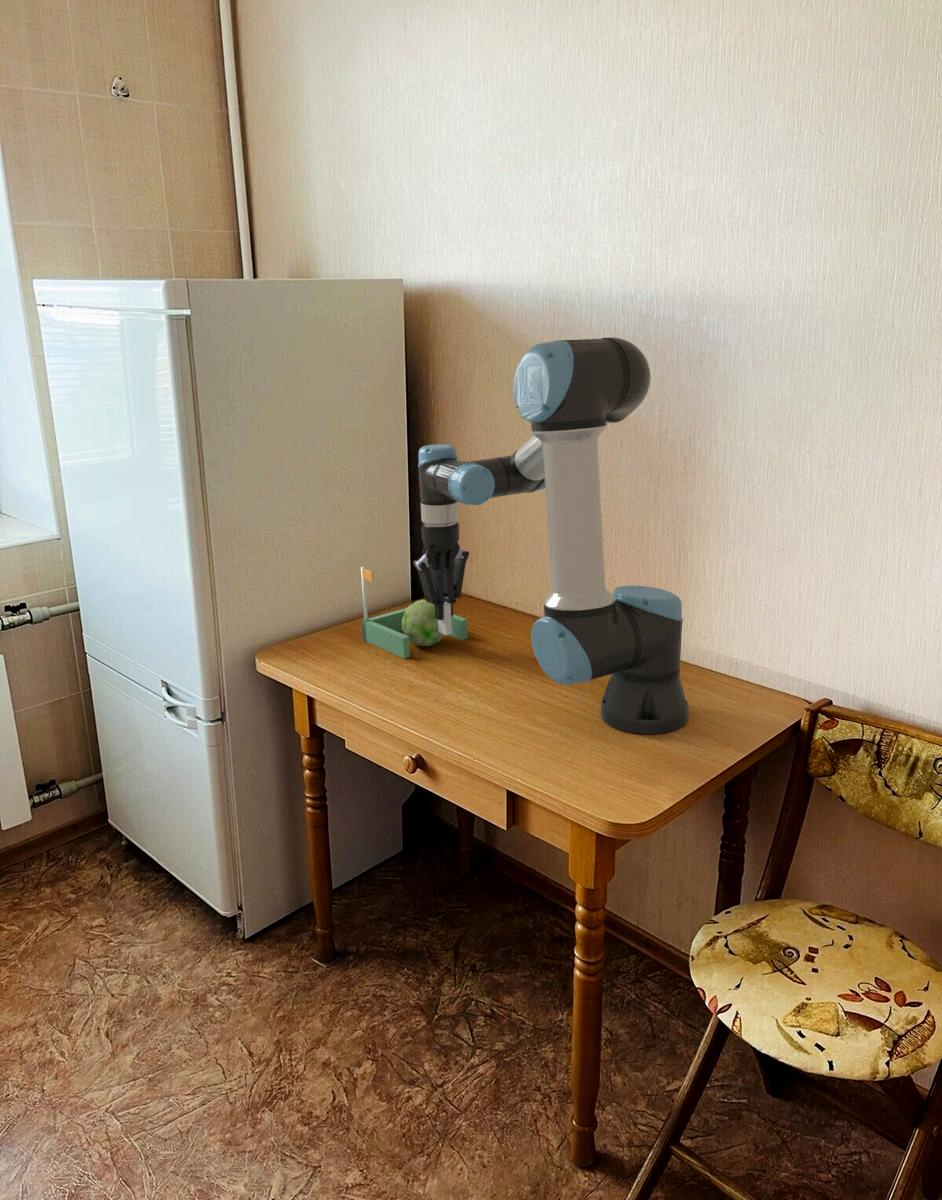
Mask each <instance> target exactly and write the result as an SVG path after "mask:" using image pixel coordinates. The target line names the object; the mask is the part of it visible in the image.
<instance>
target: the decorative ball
mask: <svg viewBox="0 0 942 1200" xmlns="http://www.w3.org/2000/svg"><path fill="white" fill-rule="evenodd" d="M406 608H407V609H406V611H405V613H404V615H403V619H402V629H403V631H402V632H403V634H404V635H406V636H409V642H412V644H414V645H416V646H422V647H431V646H433V645H436V644H437V643H439V642H440V641H442V639H443V638H444V637H445V636H446V635H444V634H442V633H439V632H438V619H436V618H435V607H434V604H431V603H428V602H426V599H419V600H416V601H415V602H412V603H411V604H410V605H408V606H407V607H406Z"/></svg>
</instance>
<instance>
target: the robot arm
mask: <svg viewBox="0 0 942 1200" xmlns="http://www.w3.org/2000/svg"><path fill="white" fill-rule="evenodd" d="M513 377H514V379H513V385H512V387H513V389H512V391H513V392H512V394H513V401H514V406H515V407H516V408H517V409H518V414H519V416H521V418H522V419H523V420H525V421H527V422H529V423H531V425H530V426H531V434H532V435H531V436H530V437H529V439H527V440H526V441H525V442H524V443H523V444H522V445H521V446H520V447H519V448H518V449H517V450H516V451H514V453H512V454H510V455H507V456H505V455H504V456H498V457H493V458H483V459H477V460H471V461H464V460H459V459H458V455H457V450H456V447H455V446H454V445H452V444H447V443H446V444H445V443H443V444H441V443H440V444H438V443H437V444H428V445H423V446H422V447H420V448H419V450H418V465H417V467H418V480H419V481H418V482H419V497H420V515H421V516H420V517H421V522H422V525H421V539H422V543H423V545H424V546H423V550H422V556H421V557H420V558H418V559H417V560H416V559H415V560H414V561H413V566H414V567H415V569H416V570H417V572H418V577H419V580H420V583H421V589H422V592H423V595H424V600H426V602H428V603H431V604H434V607H435V618H436V619H438V632H439V633H442V634H444V635H445V636H450V635H449V634H452V627H451V617H453V614H454V604H456V603H457V599H459V598H461V596H462V589H463V584H464V583H463V582H464V577H465V569H466V565H467V564H466V563H467V561H468V558H469V556H470V551H467V550H464V549H462V548H461V547H460V544H459V540H460V524H459V523H458V521H459V519H460V514H459V512H460V511H459V503H460V504H463V505H467V506H469V505H470V506H480V505H483V504H485V503H486V502H487V501H488V500H490V499H493V498H500V497H506V496H507V497H508V496H513V495H520V494H527V493H528V494H532V493H534V492H535V493H536V492H538V491H540V490H541V491H542V490H544V489H545V500H546V501H545V502H546V518H547V530H548V531H547V532H548V545H549V548H548V549H549V563H550V576H551V577H550V578H551V579H550V580H551V591H550V593H549V594H548V596H547V597H546V598H545V599H544V600H543V613H544V614H543V615H544V616H541V617H540V618H537V619H536V620H535V622H534V623H533V626H532V628H531V632H530V640H531V646H532V647H531V648H532V651H533V653H534V656H535V659H536V660H537V663H538V664H539V666H540V668H541V669H542V670H543V672H544V673H545V674H546V675H547V677H549V678H550V680H552V681H554V682H556V683H558V684H561V685H562V686H563V685H565V686H570V685H575V684H579V683H581V684H584V683H589V681H592V680H595V679H599V678H603V677H606V676H610V677H609V680H608V682H607V686H606V687H605V691H604V695H603V697H602V699H601V703H600V716H601V718H602V721H604V723H606V724H607V725H608V726H610V727H612V728H614V729H616V730H619V731H623V732H627V733H631V734H637V735H638V734H639V735H658V734H659V735H660V734H666V733H671V732H674V731H677V730H679V729H681V728H683V727H684V726H686V724H687V723H688V720H689V702H688V701H687V699H686V697H685V692H684V689H683V685H682V684H683V683H682V681H681V677H680V674H681V673H680V670H681V652H682V651H681V649H682V634H683V621H684V617H683V609H682V607H683V606H682V605H683V604H682V600H681V598H680V597H679V596H678V595H676V593H673V592H671V591H668V590H665V589H661V588H658V587H657V588H656V587H652V586H646V585H620V586H618V587H616V588H614V590H613V591H612V592H610V591H609V590H607V587H606V577H605V576H606V574H605V559H604V558H605V557H604V556H605V555H604V536H603V520H602V519H603V518H602V500H601V483H600V482H601V481H600V479H601V478H600V464H599V463H600V461H599V446H598V439H599V437H600V435H602V433H603V432H604V431H605V430H606V429H607V426H608V425H609V424H617V423H620V422H622V421H624V420H625V419H626V418H627V417H628V416H629V415H631V414H632V413H633V412H634V411H635V410H637V408H639V407H640V406H641V404H642V403H643V401H644V399H645V398H646V396H647V394H648V392H649V389H650V386H651V369H650V366H649V362H648V359H647V358H646V356H645V354H644V353H643V352H642V351H641V350H640V348H639V347H637V346H636V345H635V344H634V343H632V342H630V341H628V340H626V339H623V338H620V337H612V336H611V337H602V338H589V339H588V338H586V339H585V338H584V339H583V338H582V339H561V340H560V339H555V340H552V341H547V342H541V343H537V344H535V345H532V346H531V347H529V349H528V350H526V352H524V354H523V355H522V357H521V359H520V361H519V362H518V364H517V367H516V370H515V373H514V376H513Z"/></svg>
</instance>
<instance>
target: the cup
mask: <svg viewBox="0 0 942 1200" xmlns="http://www.w3.org/2000/svg"><path fill="white" fill-rule="evenodd" d="M373 573H374V572H373V571H372V570H370V569H366V568H365V566H361V567H360V574H361V575H360V576H361V589H362V602H363V603H362V605H363V619H362V620H361V635H362V640H363V641H365V642H366V643H369V644H370V645H373V646H376V647H378V648H380V649H381V650H384V651H386V652H388V653H390V654H393V655H396V656H397V657H400V658H402V659H404V660H405V659H409V658H411V652H410V651H411V650H410V649H411V648H410V640H409V636H406V635H405V634H404V633H402V632H403V629H402V619H403V615H404V613H405V611H406V609H407V607H405V608H402V609H401V608H400V609H397V610H395V611H391V612H387V613H384V614H380V615H377V616H373V617H370V618H369V616H368V615H369V614H368V613H369V611H368V599H367V598H368V597H367V585H366V581H369V582H371V583H373V582H374V574H373ZM451 627H452V634H449V635H448V636H450V635H451V636H450V637H453V636H454V637H453V638H455V637H456V638H455V639H458V638H459V639H458V640H460V639H461V640H460V641H465V640H467V638H468V620H467V618H464V617H462V616H459V615H457V614H455V613H453V617H451ZM464 639H465V640H464Z"/></svg>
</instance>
